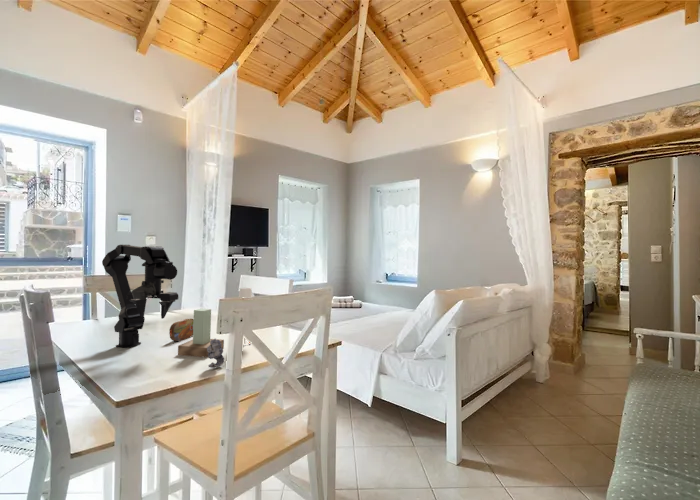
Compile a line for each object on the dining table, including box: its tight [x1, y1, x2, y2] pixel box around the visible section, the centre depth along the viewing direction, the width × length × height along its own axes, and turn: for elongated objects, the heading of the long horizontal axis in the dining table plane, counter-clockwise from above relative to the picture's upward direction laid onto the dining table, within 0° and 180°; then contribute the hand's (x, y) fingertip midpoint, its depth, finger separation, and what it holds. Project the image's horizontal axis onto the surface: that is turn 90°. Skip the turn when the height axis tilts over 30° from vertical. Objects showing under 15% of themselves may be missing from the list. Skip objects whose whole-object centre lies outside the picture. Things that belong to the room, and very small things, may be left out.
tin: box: [168, 318, 194, 342], centre depth 154 cm, size 15×3×8 cm, turn 168°
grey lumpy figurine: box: [207, 338, 225, 369], centre depth 118 cm, size 5×5×10 cm
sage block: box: [192, 308, 212, 345], centre depth 136 cm, size 4×4×13 cm
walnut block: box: [177, 338, 225, 358], centre depth 136 cm, size 12×12×4 cm
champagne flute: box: [238, 287, 253, 344], centre depth 148 cm, size 7×7×24 cm
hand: (152, 317), depth 135 cm, fingers open, 9 cm apart
